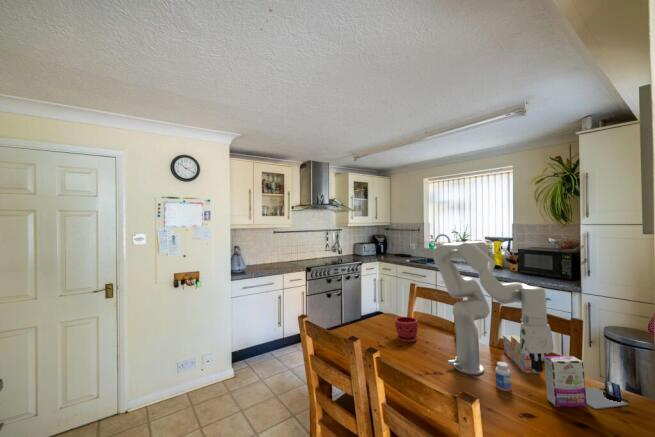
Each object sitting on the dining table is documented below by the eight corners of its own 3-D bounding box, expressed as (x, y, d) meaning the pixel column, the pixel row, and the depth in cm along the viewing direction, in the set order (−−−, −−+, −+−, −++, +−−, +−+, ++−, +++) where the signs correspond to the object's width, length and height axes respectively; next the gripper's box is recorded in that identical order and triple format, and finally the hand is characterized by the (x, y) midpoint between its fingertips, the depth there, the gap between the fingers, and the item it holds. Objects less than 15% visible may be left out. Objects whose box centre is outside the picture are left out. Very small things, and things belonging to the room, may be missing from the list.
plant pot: (420, 337, 169) (420, 317, 170) (414, 345, 158) (414, 324, 159) (399, 333, 176) (399, 314, 177) (392, 341, 165) (392, 320, 166)
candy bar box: (575, 399, 106) (573, 355, 107) (587, 407, 101) (584, 361, 102) (545, 398, 107) (543, 355, 108) (555, 407, 102) (553, 361, 103)
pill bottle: (492, 384, 118) (491, 361, 118) (504, 383, 118) (503, 360, 118) (502, 391, 112) (500, 367, 113) (514, 390, 113) (513, 366, 113)
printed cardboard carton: (503, 352, 147) (502, 329, 148) (516, 353, 146) (515, 329, 146) (524, 373, 126) (523, 345, 126) (539, 374, 125) (538, 346, 125)
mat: (595, 409, 100) (595, 408, 100) (565, 392, 111) (565, 390, 111) (628, 405, 102) (628, 404, 102) (595, 388, 113) (595, 387, 113)
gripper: (524, 324, 99) (527, 377, 99) (561, 322, 101) (564, 373, 100) (508, 318, 107) (511, 367, 106) (543, 315, 109) (545, 363, 108)
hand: (537, 370), depth 103 cm, fingers closed
